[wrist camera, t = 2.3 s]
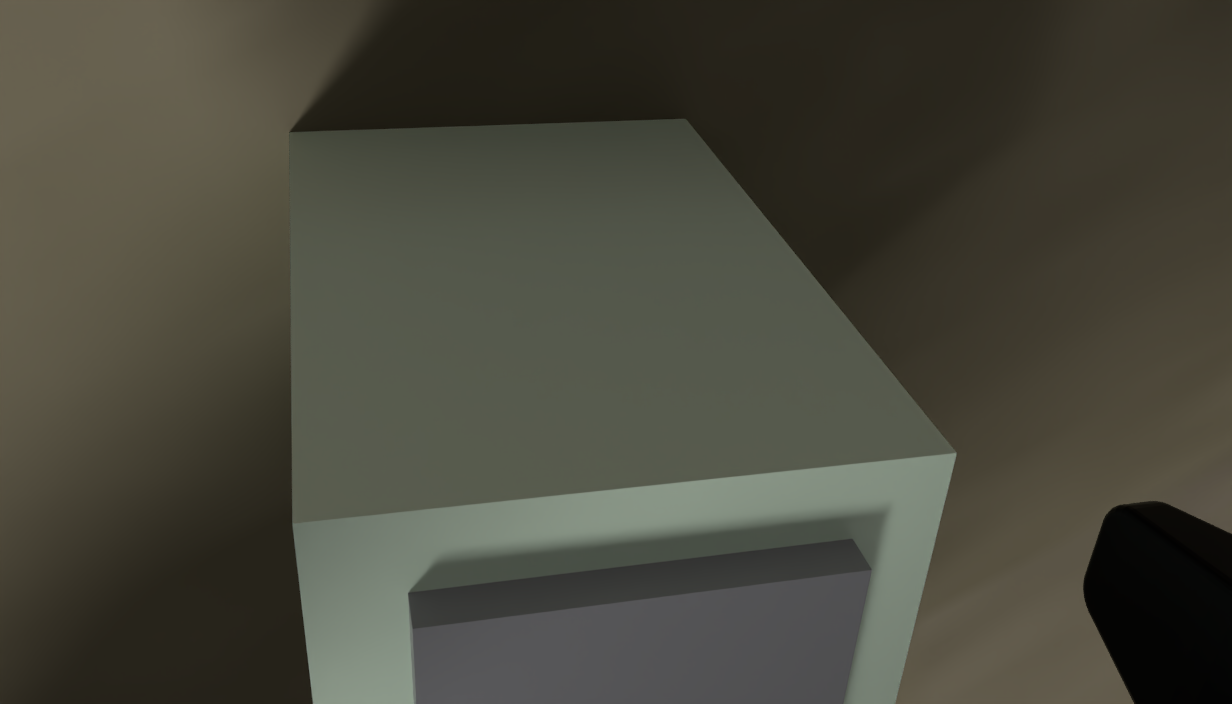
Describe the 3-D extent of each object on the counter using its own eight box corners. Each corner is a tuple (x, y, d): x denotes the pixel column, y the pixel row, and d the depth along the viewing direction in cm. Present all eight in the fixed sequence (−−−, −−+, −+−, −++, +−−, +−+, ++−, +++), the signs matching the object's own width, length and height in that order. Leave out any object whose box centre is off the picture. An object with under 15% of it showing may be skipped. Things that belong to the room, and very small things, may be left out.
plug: (658, 432, 14) (872, 894, 9) (320, 465, 13) (344, 997, 8) (684, 118, 12) (980, 481, 7) (289, 131, 11) (293, 559, 6)
